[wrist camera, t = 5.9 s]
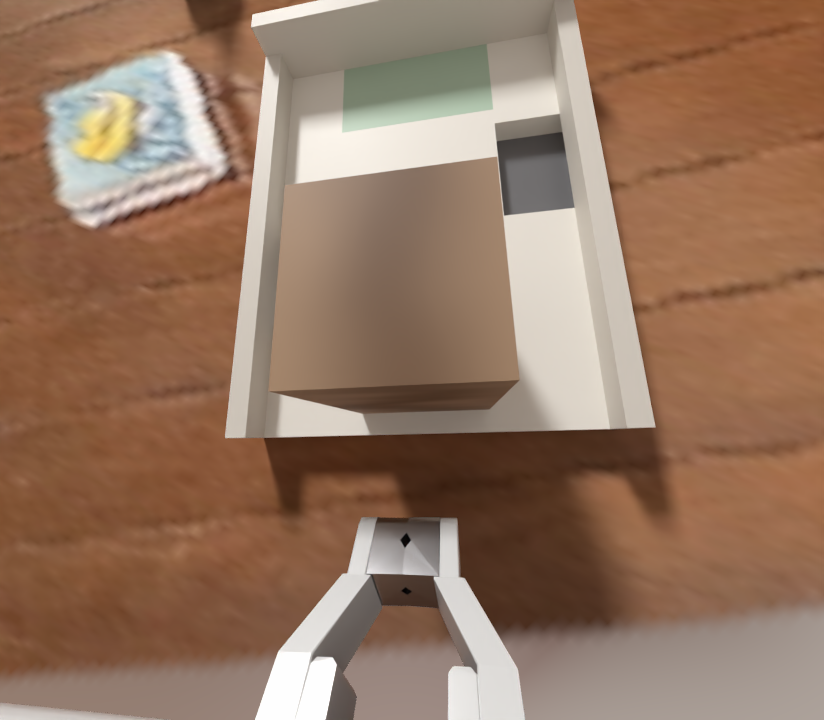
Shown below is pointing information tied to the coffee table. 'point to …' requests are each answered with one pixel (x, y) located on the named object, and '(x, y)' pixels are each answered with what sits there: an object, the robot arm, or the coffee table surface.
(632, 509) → the coffee table surface
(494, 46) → the white rimmed tray
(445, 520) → the robot arm
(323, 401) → the walnut block
